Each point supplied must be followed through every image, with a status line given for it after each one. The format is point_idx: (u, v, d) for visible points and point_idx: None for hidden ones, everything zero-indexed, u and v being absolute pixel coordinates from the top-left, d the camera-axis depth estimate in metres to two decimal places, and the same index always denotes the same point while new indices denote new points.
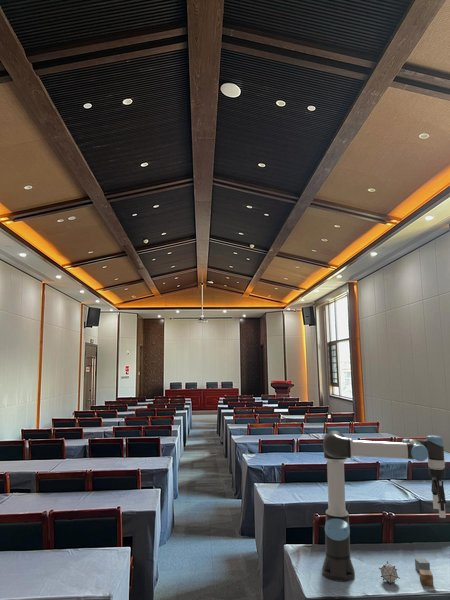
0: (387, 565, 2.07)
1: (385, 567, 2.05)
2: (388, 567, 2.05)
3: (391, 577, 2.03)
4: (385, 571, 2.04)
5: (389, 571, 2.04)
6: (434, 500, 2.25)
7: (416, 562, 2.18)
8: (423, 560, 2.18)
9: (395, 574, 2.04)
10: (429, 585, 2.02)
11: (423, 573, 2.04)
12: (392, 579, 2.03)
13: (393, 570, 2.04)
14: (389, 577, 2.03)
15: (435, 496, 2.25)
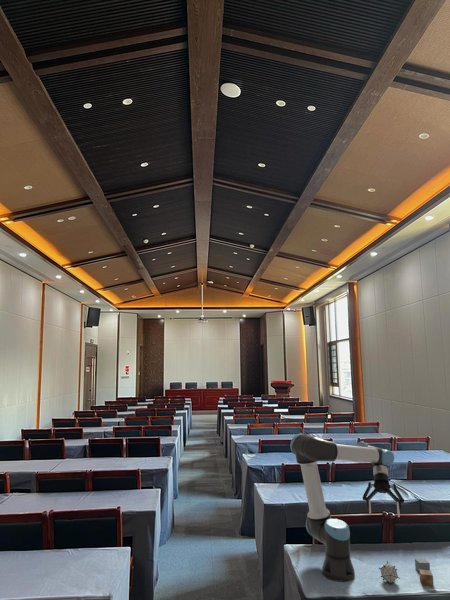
0: (387, 565, 2.07)
1: (385, 567, 2.05)
2: (388, 567, 2.05)
3: (391, 577, 2.03)
4: (385, 571, 2.04)
5: (389, 571, 2.04)
6: (370, 504, 2.27)
7: (416, 562, 2.18)
8: (423, 560, 2.18)
9: (395, 574, 2.04)
10: (429, 585, 2.02)
11: (423, 573, 2.04)
12: (392, 579, 2.03)
13: (393, 570, 2.04)
14: (389, 577, 2.03)
15: None
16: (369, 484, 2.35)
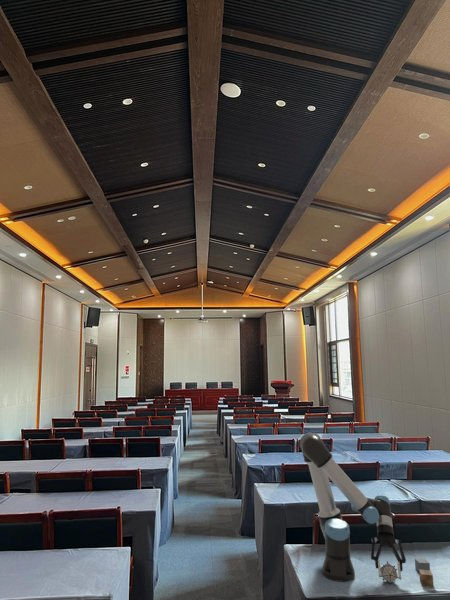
0: (387, 565, 2.07)
1: (385, 567, 2.06)
2: (388, 567, 2.05)
3: (391, 577, 2.03)
4: (385, 571, 2.05)
5: (389, 571, 2.04)
6: (379, 565, 2.07)
7: (416, 562, 2.18)
8: (423, 560, 2.18)
9: (395, 574, 2.04)
10: (429, 585, 2.02)
11: (423, 573, 2.04)
12: (392, 579, 2.03)
13: (393, 570, 2.04)
14: (389, 577, 2.03)
15: (379, 562, 2.09)
16: (373, 539, 2.16)
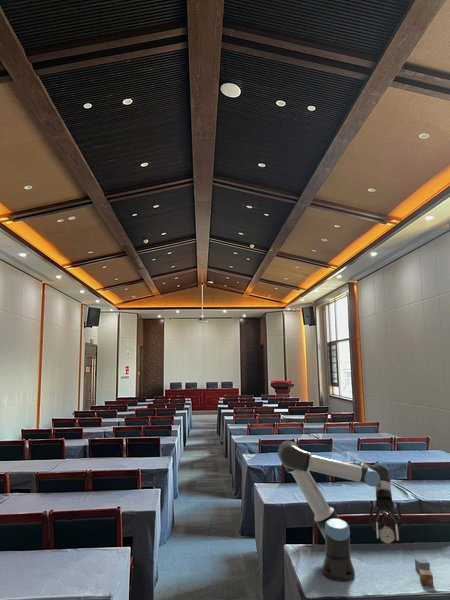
0: (385, 527, 2.10)
1: (383, 529, 2.09)
2: (386, 529, 2.09)
3: (388, 538, 2.06)
4: (383, 533, 2.08)
5: (387, 532, 2.08)
6: (377, 527, 2.10)
7: (416, 562, 2.18)
8: (423, 560, 2.18)
9: (392, 535, 2.07)
10: (429, 585, 2.02)
11: (423, 573, 2.04)
12: (389, 540, 2.07)
13: (391, 532, 2.08)
14: (386, 538, 2.07)
15: (377, 524, 2.12)
16: (371, 503, 2.20)
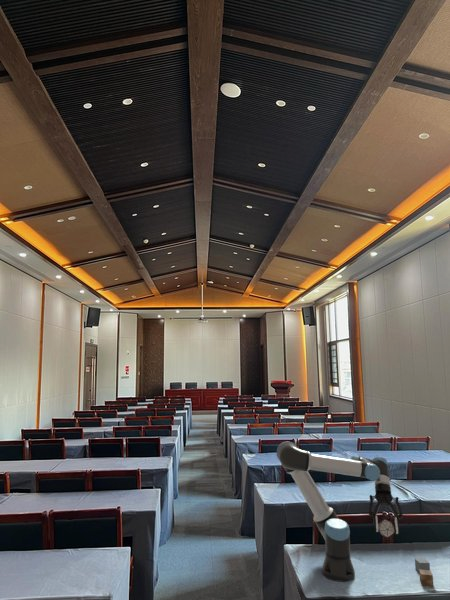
0: (384, 521, 2.11)
1: (382, 522, 2.10)
2: (385, 522, 2.10)
3: (388, 531, 2.08)
4: (382, 526, 2.09)
5: (386, 526, 2.09)
6: (377, 521, 2.11)
7: (416, 562, 2.18)
8: (423, 560, 2.18)
9: (392, 529, 2.08)
10: (429, 585, 2.02)
11: (423, 573, 2.04)
12: (389, 534, 2.08)
13: (390, 525, 2.09)
14: (386, 531, 2.08)
15: None
16: (371, 497, 2.21)
